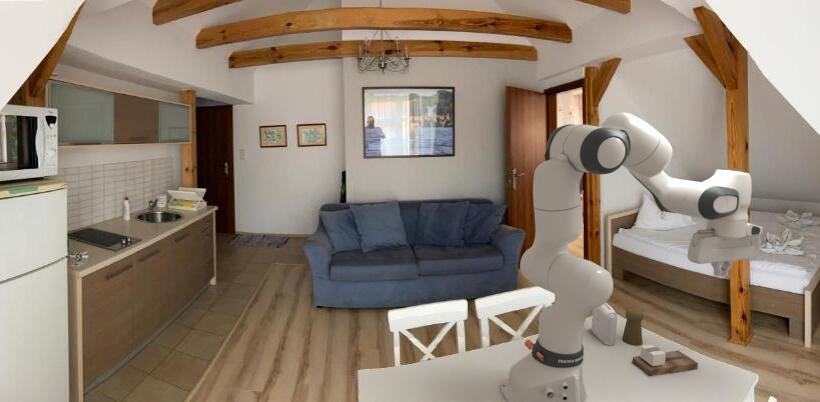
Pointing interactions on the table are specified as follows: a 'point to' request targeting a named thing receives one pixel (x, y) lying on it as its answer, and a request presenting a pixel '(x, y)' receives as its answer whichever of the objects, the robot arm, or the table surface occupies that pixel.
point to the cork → (633, 327)
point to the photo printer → (604, 324)
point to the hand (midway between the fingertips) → (720, 275)
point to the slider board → (667, 364)
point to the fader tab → (652, 355)
